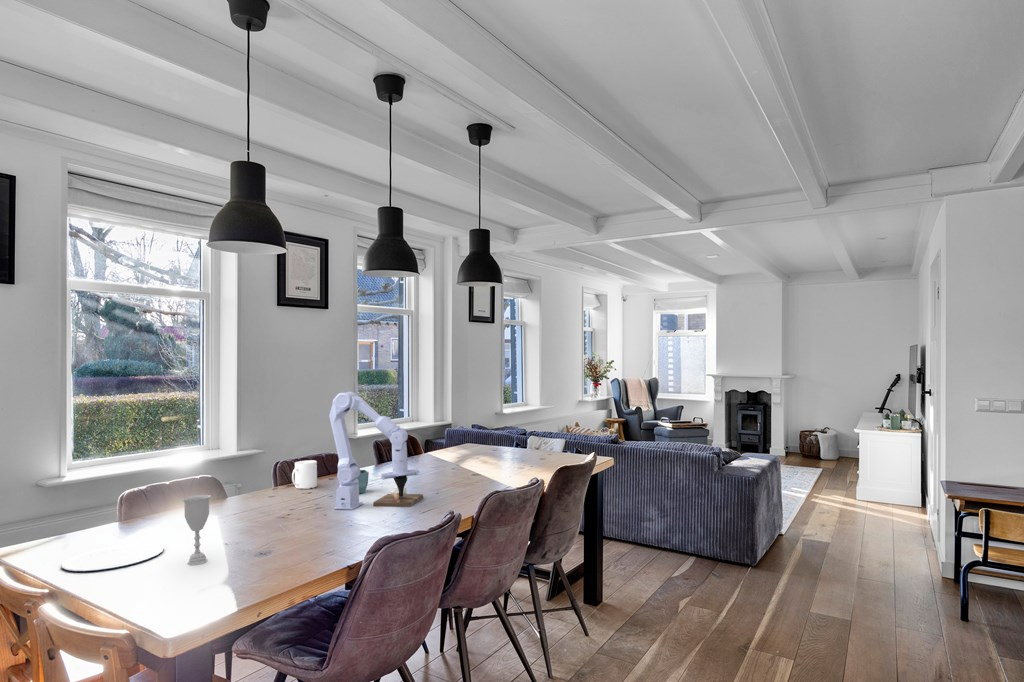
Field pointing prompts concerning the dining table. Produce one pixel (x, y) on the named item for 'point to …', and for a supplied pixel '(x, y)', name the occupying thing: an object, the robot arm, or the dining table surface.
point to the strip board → (401, 502)
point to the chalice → (197, 522)
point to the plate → (155, 551)
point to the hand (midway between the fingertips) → (401, 496)
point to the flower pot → (363, 480)
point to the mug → (305, 474)
